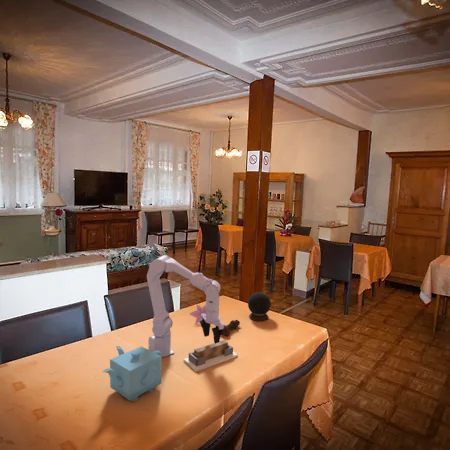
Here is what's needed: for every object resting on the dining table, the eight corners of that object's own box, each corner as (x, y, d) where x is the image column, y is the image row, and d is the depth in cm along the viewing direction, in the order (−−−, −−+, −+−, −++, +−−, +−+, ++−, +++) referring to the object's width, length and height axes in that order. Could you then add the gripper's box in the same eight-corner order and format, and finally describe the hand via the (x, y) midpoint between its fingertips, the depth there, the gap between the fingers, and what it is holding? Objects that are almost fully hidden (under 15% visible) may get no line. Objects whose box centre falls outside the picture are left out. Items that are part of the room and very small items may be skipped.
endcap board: (196, 371, 141) (196, 362, 140) (183, 361, 149) (183, 352, 148) (237, 356, 154) (237, 347, 154) (224, 347, 162) (224, 339, 162)
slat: (197, 363, 145) (198, 352, 145) (194, 360, 148) (194, 349, 147) (227, 353, 155) (228, 342, 155) (223, 350, 157) (223, 339, 157)
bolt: (238, 329, 188) (224, 338, 175) (231, 323, 190) (217, 331, 177) (243, 321, 186) (229, 330, 173) (236, 315, 188) (222, 323, 175)
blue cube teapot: (162, 375, 138) (162, 340, 136) (158, 405, 119) (159, 365, 117) (114, 377, 135) (113, 341, 134) (102, 407, 117) (101, 366, 115)
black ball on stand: (273, 316, 202) (275, 292, 200) (264, 324, 191) (265, 298, 189) (253, 311, 209) (254, 287, 207) (243, 318, 198) (244, 293, 196)
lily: (186, 322, 192) (187, 311, 187) (199, 309, 201) (200, 298, 195) (204, 333, 188) (205, 322, 182) (216, 319, 196) (217, 308, 190)
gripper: (229, 312, 146) (228, 343, 147) (210, 302, 157) (209, 331, 159) (216, 316, 141) (215, 347, 143) (197, 305, 153) (196, 334, 154)
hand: (211, 339), depth 150 cm, fingers open, 7 cm apart
